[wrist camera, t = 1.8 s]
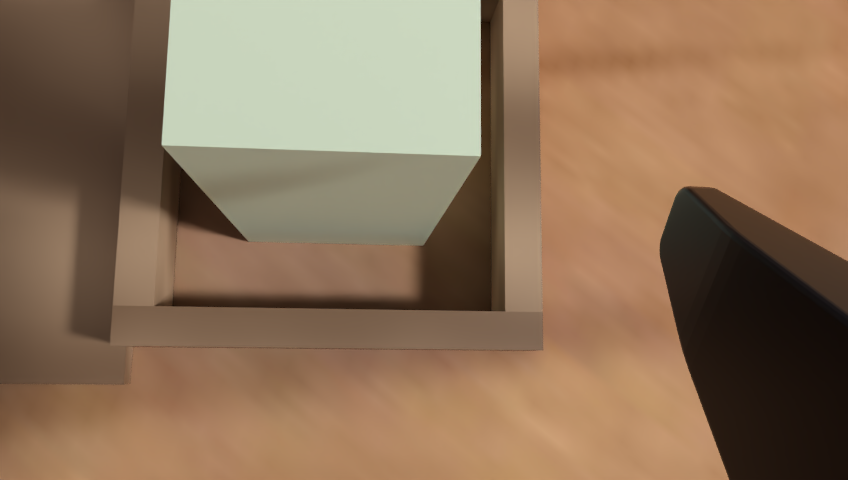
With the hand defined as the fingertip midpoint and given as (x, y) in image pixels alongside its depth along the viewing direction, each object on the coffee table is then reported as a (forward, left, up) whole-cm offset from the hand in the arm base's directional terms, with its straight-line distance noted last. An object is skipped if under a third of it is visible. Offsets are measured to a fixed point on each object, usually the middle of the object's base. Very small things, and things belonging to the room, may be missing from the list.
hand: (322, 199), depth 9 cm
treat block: (+4, 0, -12) cm, 13 cm away
